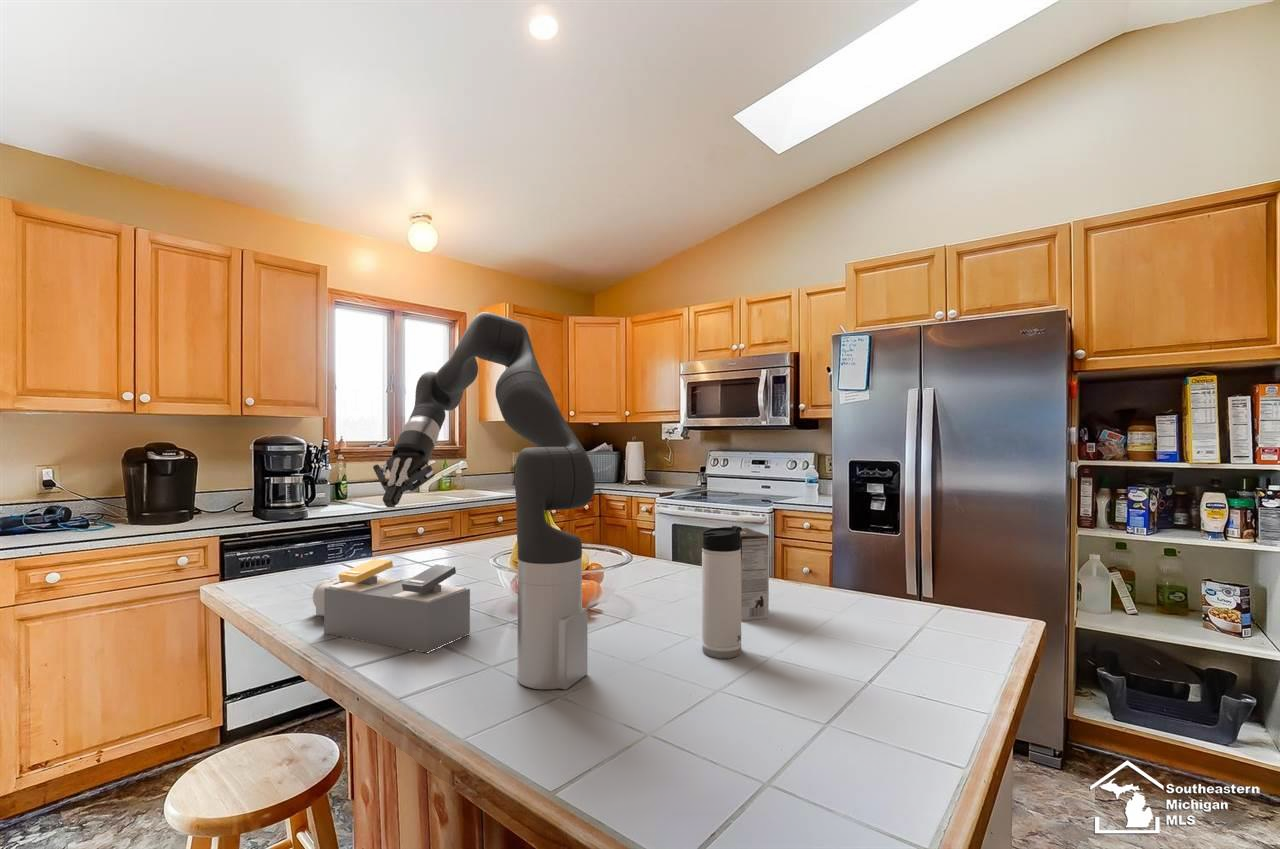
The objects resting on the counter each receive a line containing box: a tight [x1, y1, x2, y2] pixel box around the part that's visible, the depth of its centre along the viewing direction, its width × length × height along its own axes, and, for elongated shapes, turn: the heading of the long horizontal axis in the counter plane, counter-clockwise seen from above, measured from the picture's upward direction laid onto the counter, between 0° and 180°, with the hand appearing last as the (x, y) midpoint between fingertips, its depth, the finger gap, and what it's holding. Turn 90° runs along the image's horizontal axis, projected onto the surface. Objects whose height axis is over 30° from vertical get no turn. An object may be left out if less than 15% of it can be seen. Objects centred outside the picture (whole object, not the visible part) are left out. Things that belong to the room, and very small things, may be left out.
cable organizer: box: [312, 575, 345, 617], centre depth 117 cm, size 7×12×12 cm
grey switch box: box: [323, 575, 471, 652], centre depth 104 cm, size 24×10×9 cm, turn 66°
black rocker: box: [402, 564, 457, 593], centre depth 101 cm, size 4×8×1 cm, turn 156°
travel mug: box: [701, 525, 742, 659], centre depth 96 cm, size 6×7×20 cm
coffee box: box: [740, 527, 770, 622], centre depth 116 cm, size 9×6×16 cm
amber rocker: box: [338, 558, 394, 583], centre depth 107 cm, size 4×8×1 cm, turn 156°
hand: (388, 504), depth 116 cm, fingers closed
